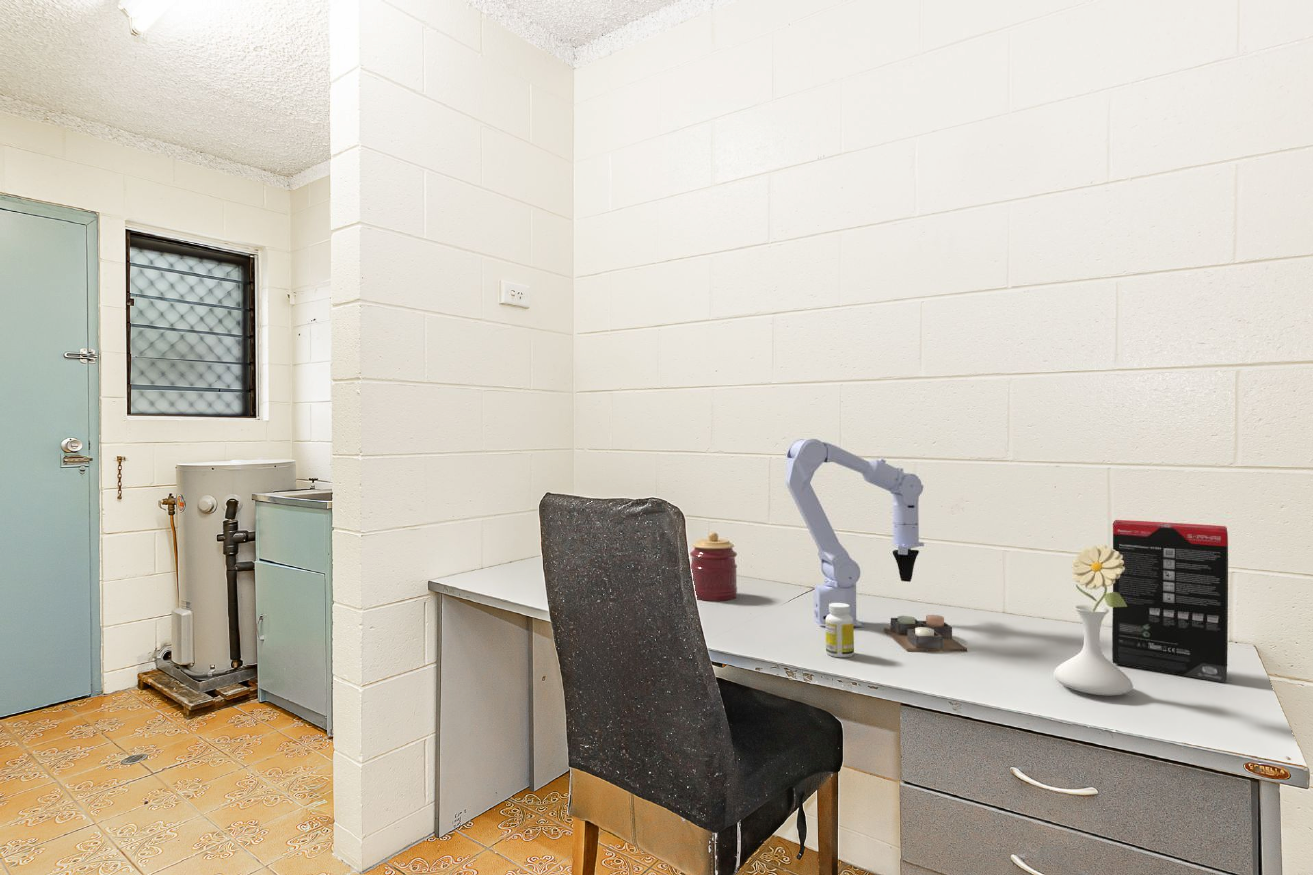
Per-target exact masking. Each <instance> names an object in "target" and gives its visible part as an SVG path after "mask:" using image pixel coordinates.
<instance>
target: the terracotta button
mask: <svg viewBox="0 0 1313 875" xmlns="http://www.w3.org/2000/svg"><path fill="white" fill-rule="evenodd" d="M925 621H926V625H927V626H928V627H944V622H945V617H944V616H942V615H938V614H927V615H925Z"/></svg>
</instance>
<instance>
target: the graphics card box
mask: <svg viewBox="0 0 1313 875" xmlns="http://www.w3.org/2000/svg"><path fill="white" fill-rule="evenodd" d="M1227 529H1228V528H1227V526H1226V525H1215V524H1199V523H1198V524H1197V523H1184V522H1181V523H1179V522H1168V521H1167V522H1166V521H1163V522H1161V521H1147V520H1145V521H1144V520H1127V519H1126V520H1124V519H1115V520H1113V523H1112V550H1116V551H1118V552H1119V554H1121V555H1123V558H1122V560H1123V561H1124V564H1123V565H1122V566H1124V567H1125V570H1124V571H1123V572H1122V574H1120V578H1119V579H1115V583H1114V584H1112V592H1117V593H1119V594H1120V596H1121V597H1122V599H1123V600H1124V602H1125V603H1126V605H1127V607H1112V620H1111V621H1112V623H1111V625H1112V626H1111V627H1112V629H1111V636H1112V637H1111V638H1112V640H1111V644H1112V648H1111V651H1112V652H1111V654H1112V657H1111V658H1112V659H1111V660H1112V664H1114V665H1121V666H1128V667H1133V668H1139V669H1143V670H1151V671H1155V672H1163V673H1167V674H1173V675H1178V676H1185V677H1189V678H1195V679H1200V680H1207V681H1211V682H1212V681H1213V682H1218V683H1227V680H1228V677H1227V676H1228V653H1229V652H1228V651H1229V650H1228V645H1229V644H1228V635H1229V634H1228V633H1229V631H1228V630H1229V629H1228V628H1229V534H1228V530H1227Z"/></svg>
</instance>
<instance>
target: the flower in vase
mask: <svg viewBox="0 0 1313 875" xmlns="http://www.w3.org/2000/svg"><path fill="white" fill-rule="evenodd" d="M1075 557H1076V559H1074V560H1073V561H1072V565H1071V569H1072V574H1074V575H1073V577H1072V578H1073V580H1074V581H1075V582H1076V583H1079V585H1080V586H1085V588H1086V589H1088V590H1098V589H1099V588H1100V587H1102V588H1104V590H1103V594H1102V596H1101V597H1100V598H1099V600H1097V599H1096V598H1095V597H1094V596H1093V595H1092V594H1090V593H1088V592H1087V591H1084V590H1083V589H1082V588H1080V587H1079V586H1078V584H1075V585H1076V589H1077V590H1078V591H1079V592H1080V593H1081V594H1083V595H1085V596H1087V597H1088V598H1090V599H1092V600H1093V601H1095V602H1096V603H1095V605H1092V604H1090V605H1089V604H1076V605H1074V606H1073V608H1074V609H1075V610H1076V612H1077V613H1078V615H1079V617H1080V620H1081V623H1082V629H1083V646H1082V649H1081V651H1080V652H1079V653H1077V654H1076V655H1074V656H1072V657H1071V658H1069V659H1067V660H1066V661H1064V662H1062V663H1061V664H1059V665H1058V666H1057V667H1056V668H1055V669H1054V671H1053V677H1054V678H1055V680H1056V681H1057V682H1058V683H1059V684H1061V685H1063V686H1065V687H1067V688H1069V689H1072V690H1074V691H1077V692H1081V693H1085V694H1091V695H1094V696H1095V695H1097V696H1108V697H1110V696H1119V695H1125V694H1129V692H1130V691H1132V689H1133V688H1134V685H1133V683H1132V680H1131V679H1130V678H1129V676H1128V675H1126V674H1125V672H1124V671H1122V670H1121V669H1120V668H1119V667H1117V666H1116V664H1115V663H1113V662H1111V660H1109V659H1108V658H1107V657H1106V656H1105V655H1104V654H1103V652H1102V650H1101V646H1100V644H1101V642H1100V636H1101V635H1100V634H1101V626H1102V623H1103V620H1104V618H1105V616H1106V615H1107V614H1108V613H1109V611H1110V609H1108V608H1106V607H1103V606H1099V605H1100V603H1101V602H1102V601H1103V600H1104V601H1105V603H1106V605H1107V606H1108V607H1110V608H1113V607H1127V605H1126V603H1125V602H1124V600H1123V599H1122V597H1121V596H1120V594H1119V593H1117V592H1113V591H1112V592H1108V593H1107V591H1108V587H1110V586H1113V584H1114V583H1115V579H1119V578H1120V574H1122V572H1123V571H1124V570H1125V567H1124V566H1122V565H1123V564H1124V561H1123V560H1122V558H1123V555H1121V554H1119V552H1118V551H1116V550H1113V547H1111V546H1107V545H1106V544H1102V545H1099V546H1097V545H1095V544H1094V545H1091V546H1090V548H1083V549H1082V552H1080V553H1077V554H1076V556H1075Z"/></svg>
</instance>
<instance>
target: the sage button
mask: <svg viewBox="0 0 1313 875" xmlns="http://www.w3.org/2000/svg"><path fill="white" fill-rule="evenodd" d="M897 618H898V623H907V624H915V619H916V617H914V616H910V615H898V616H897Z"/></svg>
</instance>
